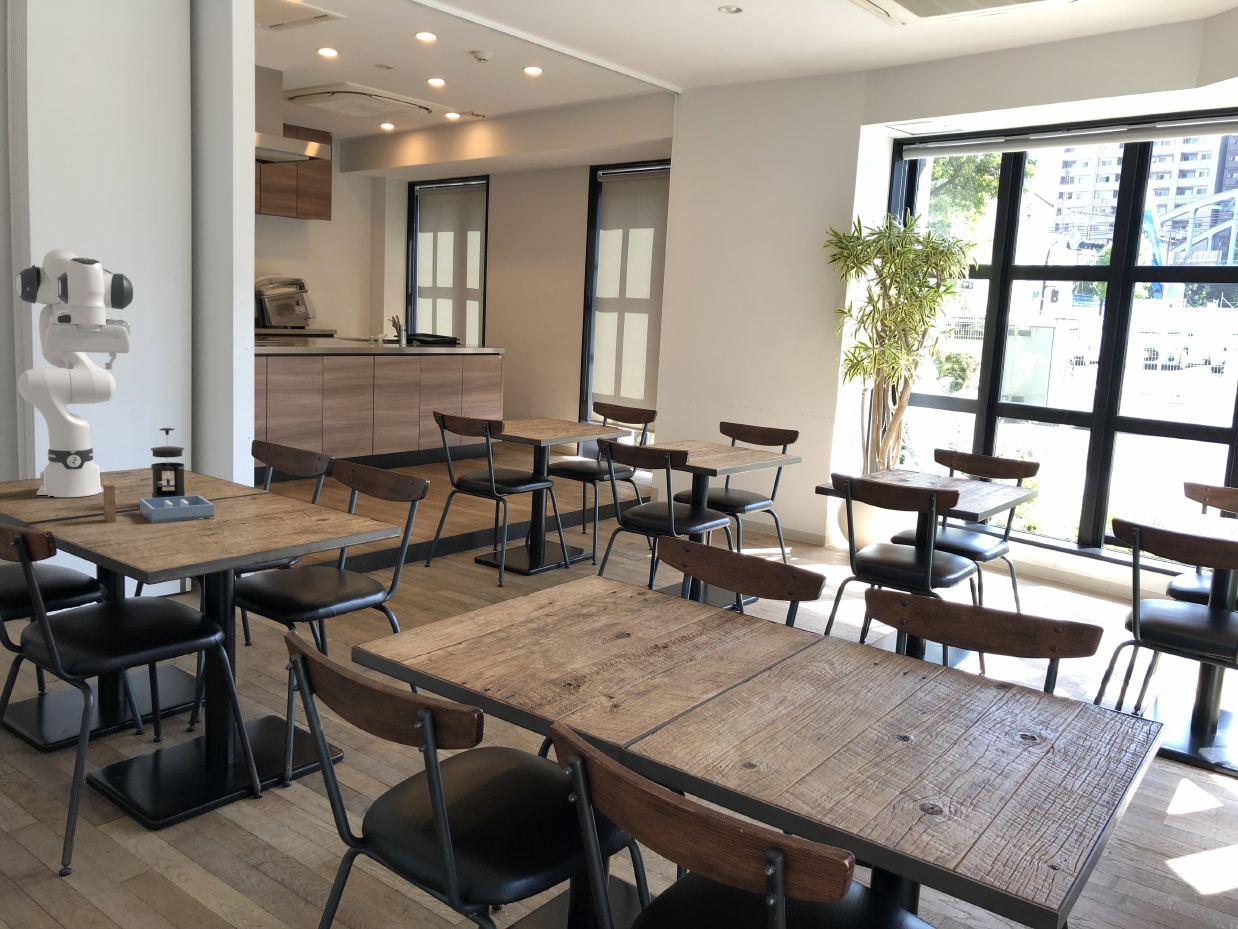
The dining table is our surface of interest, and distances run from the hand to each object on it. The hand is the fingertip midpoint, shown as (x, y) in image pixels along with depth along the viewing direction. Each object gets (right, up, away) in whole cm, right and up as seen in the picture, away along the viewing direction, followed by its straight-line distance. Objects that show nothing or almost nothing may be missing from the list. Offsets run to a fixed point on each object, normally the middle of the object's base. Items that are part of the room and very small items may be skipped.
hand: (89, 369), depth 254 cm
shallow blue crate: (+19, -41, +10) cm, 46 cm away
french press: (+10, -38, +25) cm, 47 cm away
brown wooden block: (+6, -42, -1) cm, 42 cm away
